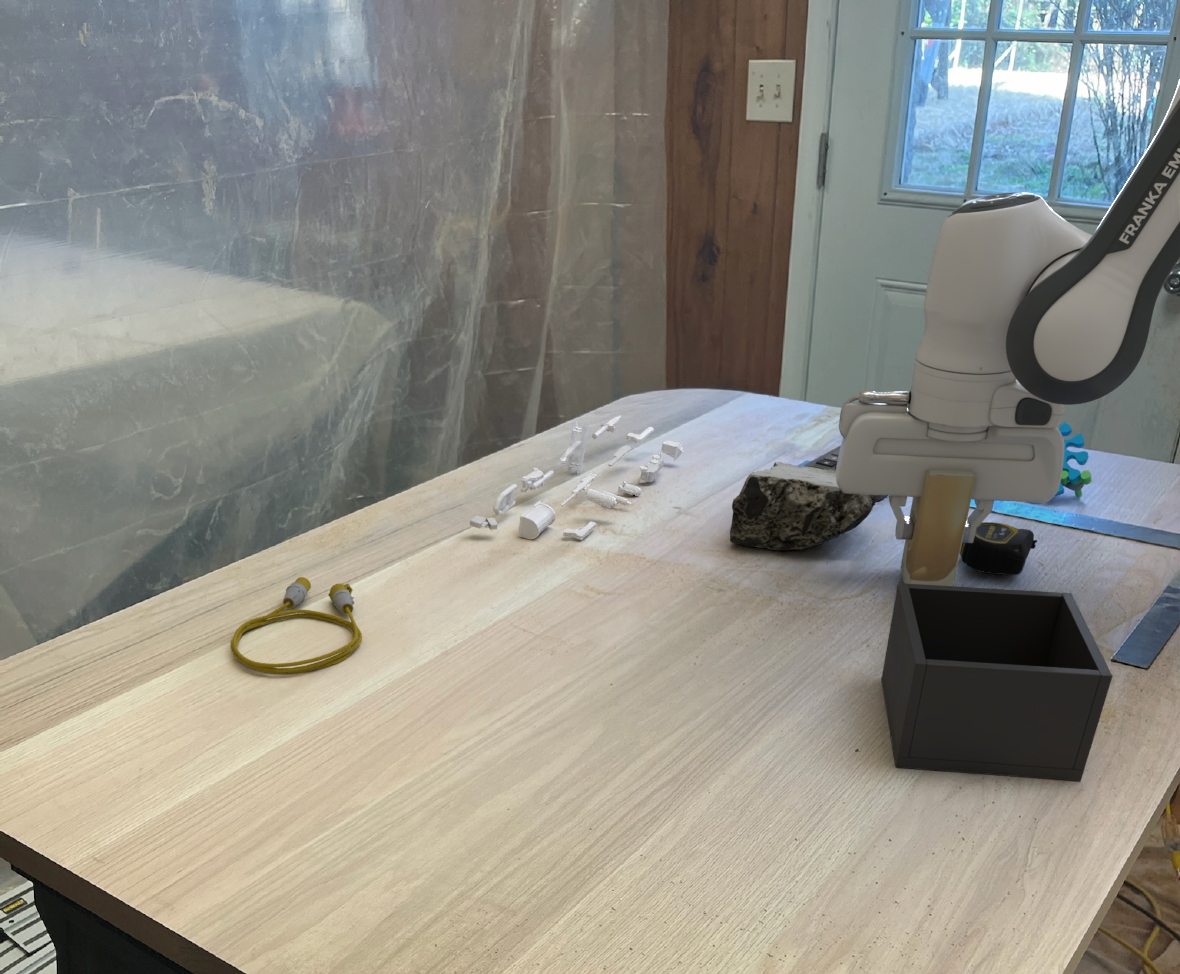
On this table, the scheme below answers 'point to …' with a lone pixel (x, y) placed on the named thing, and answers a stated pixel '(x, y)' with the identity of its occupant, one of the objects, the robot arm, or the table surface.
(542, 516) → the miniature set
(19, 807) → the table surface
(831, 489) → the concrete fragment
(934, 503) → the cosmetic box
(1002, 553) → the tape measure
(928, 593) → the open box
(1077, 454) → the gear
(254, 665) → the extension cord
